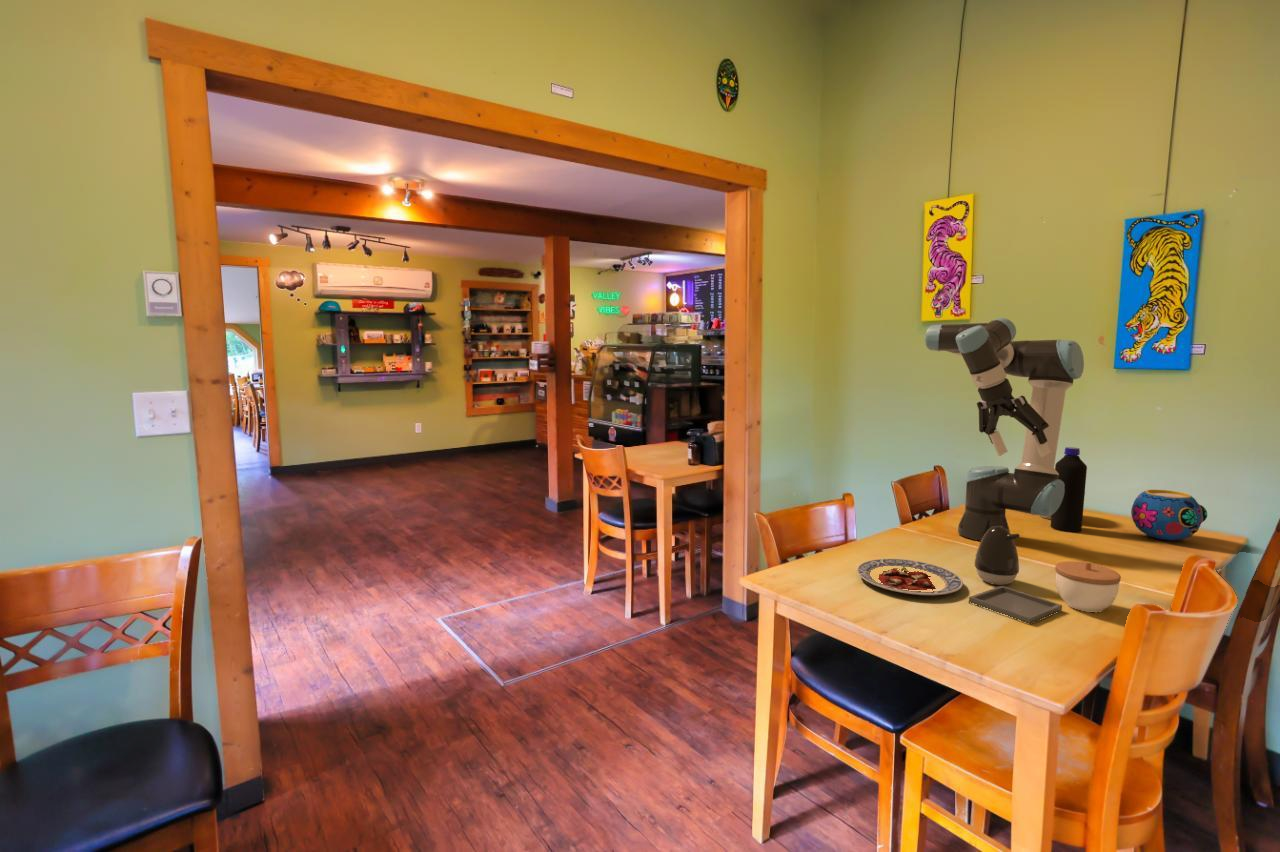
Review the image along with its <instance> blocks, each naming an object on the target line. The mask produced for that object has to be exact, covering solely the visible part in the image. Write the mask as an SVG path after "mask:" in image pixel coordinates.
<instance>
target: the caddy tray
mask: <svg viewBox="0 0 1280 852" xmlns="http://www.w3.org/2000/svg"><path fill="white" fill-rule="evenodd" d="M969 602H971V603H974V604H977V605H980V606H982V607H985V608H988V609H991V610H993V611H996V612H999V613H1002V614H1005V615H1008V616H1010V617H1013V618H1016V619H1019V620H1021V621H1023V622H1026V623H1029V624H1030V625H1032V624H1031V623H1033V622H1035V623H1037V622H1039V621H1038V620H1040V619H1042V618H1044V617H1047V616H1049V615H1051V614H1054V613H1056V612H1058V613H1060V612H1059V611H1061V610H1063V604H1060V603H1057V602H1054V601H1051V600H1047V599H1044V598H1042V597H1038V596H1035V595H1032V594H1029V593H1026V592H1023V591H1019V590H1017V589H1014V588H1011V587H1006V586H1005V585H998V586H997V587H994V588H991V589H989V590H986V591H982V592H980V593H976V594H974V595H971V596H969V597H968V603H969ZM1061 612H1062V611H1061ZM1056 614H1057V613H1056ZM1054 615H1055V614H1054ZM1051 616H1052V615H1051ZM1049 617H1050V616H1049ZM1047 618H1048V617H1047ZM1044 619H1045V618H1044ZM1042 620H1043V619H1042ZM1036 621H1037V622H1036ZM1040 621H1041V620H1040ZM1023 622H1022V623H1023ZM1026 623H1025V624H1026ZM1029 624H1028V625H1029ZM1033 624H1034V623H1033Z"/></svg>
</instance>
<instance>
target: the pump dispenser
mask: <svg viewBox="0 0 1280 852" xmlns="http://www.w3.org/2000/svg"><path fill="white" fill-rule="evenodd" d="M1019 538H1020V534H1019V533H1011V531H1010V532H1009V531H1008V530H1007V529H1006V528H1005V527H1002V526H993V527H991V528H989V529H988V531H987V532H986V533H985V535H984V536H983V538H982V540H981V541H979V545H978V547H977V549H976V555H975V558H974V567H975V570H976V572H977V575H978V577H979V578H980V579H982V581H984V582H986V583H988V582H989V583H988V584H990V583H993V584H992V585H995V584H999V585H998V586H1006V585H1009V584H1011V583H1012V582H1014V581H1015V579H1016V577H1017V575H1018V574H1019V572H1020V562H1019V561H1020V560H1019V556H1018V555H1019V554H1018V550H1017V546H1016V543H1015V542H1016V541H1015V539H1019ZM1005 584H1006V585H1005Z"/></svg>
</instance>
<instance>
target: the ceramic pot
mask: <svg viewBox="0 0 1280 852" xmlns="http://www.w3.org/2000/svg"><path fill="white" fill-rule="evenodd" d="M1130 510H1131V511H1130V513H1131V519H1132V521H1133V523H1134V524H1135V526H1136V528H1137V529H1138V530H1139V531H1140V532H1141V533H1143V534H1145V535H1147V536H1149V537H1152V538H1154V539H1156V540H1162V541H1171V542H1172V541H1181V540H1184V539H1189V538H1191V537H1192V536H1194V534H1195V533H1197V532H1198V531H1199V529H1200V527H1201V525H1202V524H1203V522H1205V521H1206V520H1207V518H1208V511H1207V509H1206V508H1205V506H1203V505H1201V504H1199V503H1198V501H1197V499H1196V498H1194V497H1193V495H1190V494H1188V493H1184V492H1179V491H1176V490H1175V491H1174V490H1167V489H1166V490H1165V489H1146V490H1144V491H1142V492H1140V493H1139V494H1138V496H1137V497H1135V499H1134V501H1133V504H1132V506H1131V509H1130Z"/></svg>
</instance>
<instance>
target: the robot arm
mask: <svg viewBox="0 0 1280 852" xmlns="http://www.w3.org/2000/svg"><path fill="white" fill-rule="evenodd" d="M1016 328H1017V327H1016V325H1015V324H1014V322H1013V321H1012V320H1010V319H1008V318H1005V317H997V318H995V319H993V320H992V319H991V321H989V322H977V323H976V322H975V323H973V322H972V323H956V324H955V323H953V324H952V323H949V324H943V323H940V324H933V325H930V326H929V327H928V328H927V330H926V332H925V336H924V343H925V346H926V347H927V349H928V350H930V351H933V352H934V351H936V352H941V351H943V352H948V353H951V354H955V355H958V356H960V357H962V359H963V361H964V362H965V366H966V367H967V369H968V371H969V373H970V374H969V375H970V376H971V378H972V380H973V383H974V385H975V387H976V388H977V392H978V395H979V396H980V397H979V398H981V400H980V401H978V402H977V403H976V406H977V409H978V427H979V428H978V430H979V432H980V433H981V434H982V433H985V434H986V435H987V436H988V438H989V440H990V443H991V444H992V445H993V447H994V450H995V451H996V453H997V456H999V457H1001V456H1003V455H1005V453H1007V452H1008V449H1007V447H1006V444H1005V442H1004V439H1003V438H1002V435H1001V433H1000V431H999V430H997V426H998V425H997V424H998V422H999V418H1000V417H1003V416H1005V417H1007V416H1009V417H1010V418H1013V419H1015V420H1016V421H1018V423H1020V424H1021V425H1022V426H1024V427H1025V428H1026V430H1025V436H1024V437H1025V438H1024V445H1023V451H1022V456H1021V463H1020V464H1018V465H1017V466H1015V467H1014V472H1010V470H1009V467H1008V466H1007V467H1006V466H1003V465H1002V466H1001V465H1000V466H999V465H994V466H993V465H989V466H988V465H987V466H986V465H985V466H976V467H972V468H970V469H969V470H968V471H967V476H966V481H965V482H966V488H965V507H964V512H963V515H962V517H961V519H960V521H959V523H958V527H957V534H958V533H959V534H960V536H961V535H962V536H961V537H963V536H964V537H963V538H965V537H967V538H966V539H968V538H970V539H969V540H972V539H974V541H977V540H979V541H978V542H981V540H982V538H983V536H984V535H985V533H986V532H987V531H988V529H989V528H991V527H993V526H1002V527H1005V528H1006V529H1007V530H1008V531H1009V532H1010V533H1011V530H1010V527H1009V523H1008V520H1007V517H1006V510H1010V511H1015V512H1019V513H1024V514H1030V515H1032V516H1040V515H1041V516H1050V515H1052V514H1054V513H1055V512H1056V511H1057V509H1058V508H1059V506H1060V505H1061V502H1062V500H1063V497H1064V492H1065V489H1064V487H1065V485H1064V482H1063V481H1061V480H1060V479H1058V477H1059V473H1058V472H1057V471H1056V470H1055V465H1056V463H1055V462H1056V455H1057V450H1058V442H1059V438H1060V437H1059V436H1060V430H1061V423H1062V419H1063V417H1062V416H1063V411H1064V406H1065V405H1064V404H1065V398H1066V397H1065V396H1066V391H1067V390H1068V389H1069V388H1071V387H1073V385H1074V380H1077V379H1080V378H1081V377H1082V375H1083V373H1084V369H1085V368H1084V365H1085V363H1084V362H1085V361H1084V360H1085V359H1084V354H1083V351H1082V348H1081V346H1080V344H1079V343H1078V342H1077V341H1075V340H1067V339H1045V340H1044V339H1042V340H1039V339H1038V340H1036V339H1035V340H1028V339H1027V340H1014V339H1015V338H1016V334H1017V329H1016ZM1007 375H1010V376H1013V377H1020V378H1028V380H1027V382H1028V384H1029V385H1030V386H1031V387H1032V392H1031V398H1030V403H1029V402H1028V400H1027V398H1026V396H1025V395H1020V396H1018V397H1016V398H1015V397H1014V396H1013V394H1012V393H1013V389H1014V388H1012V385H1011V382H1010V381H1009V379H1008V378H1007ZM1041 516H1040V517H1041ZM959 534H958V535H959Z"/></svg>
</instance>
